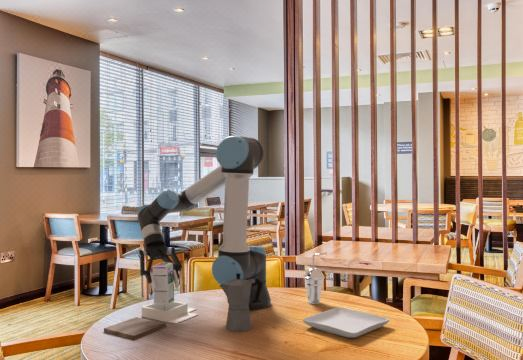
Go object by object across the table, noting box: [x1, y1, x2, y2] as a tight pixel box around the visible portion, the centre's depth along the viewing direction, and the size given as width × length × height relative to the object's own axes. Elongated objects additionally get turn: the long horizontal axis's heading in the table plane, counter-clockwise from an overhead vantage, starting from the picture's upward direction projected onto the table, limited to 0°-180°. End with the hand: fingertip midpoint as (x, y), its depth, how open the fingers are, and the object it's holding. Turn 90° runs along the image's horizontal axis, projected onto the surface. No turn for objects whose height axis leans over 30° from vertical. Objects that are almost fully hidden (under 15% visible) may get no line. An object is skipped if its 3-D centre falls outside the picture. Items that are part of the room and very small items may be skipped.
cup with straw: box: [302, 252, 328, 305], centre depth 186 cm, size 8×9×20 cm
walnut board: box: [103, 316, 167, 340], centre depth 156 cm, size 14×14×1 cm
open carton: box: [141, 300, 199, 325], centre depth 173 cm, size 17×17×4 cm
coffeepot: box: [219, 273, 263, 333], centre depth 157 cm, size 15×9×18 cm, turn 115°
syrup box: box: [152, 261, 175, 305], centre depth 172 cm, size 6×6×14 cm
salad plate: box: [302, 306, 390, 339], centre depth 156 cm, size 21×21×3 cm
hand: (166, 288), depth 169 cm, fingers closed on syrup box, 8 cm apart
